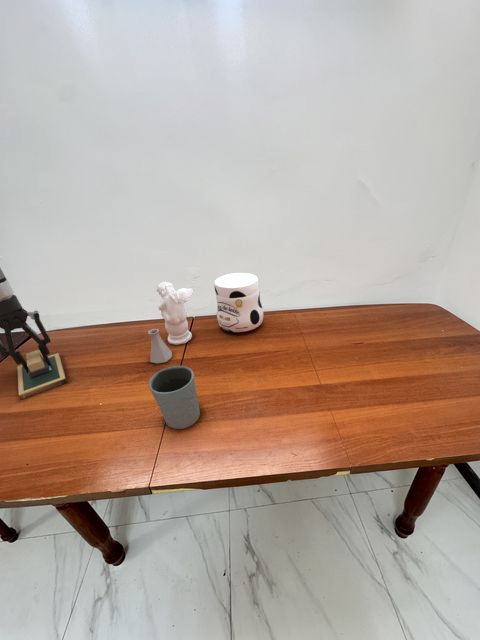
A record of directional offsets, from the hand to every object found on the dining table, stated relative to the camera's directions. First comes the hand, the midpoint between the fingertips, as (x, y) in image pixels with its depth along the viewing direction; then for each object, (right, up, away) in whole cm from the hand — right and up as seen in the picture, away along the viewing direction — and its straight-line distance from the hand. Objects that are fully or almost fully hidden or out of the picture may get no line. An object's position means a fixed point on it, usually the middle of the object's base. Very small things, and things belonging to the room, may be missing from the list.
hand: (39, 366), depth 93 cm
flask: (+37, +3, +4) cm, 38 cm away
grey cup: (+50, -11, -19) cm, 55 cm away
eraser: (0, 0, 0) cm, 0 cm away
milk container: (+62, +14, +19) cm, 67 cm away
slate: (+2, -3, -1) cm, 3 cm away
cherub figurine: (+43, +9, +14) cm, 46 cm away
